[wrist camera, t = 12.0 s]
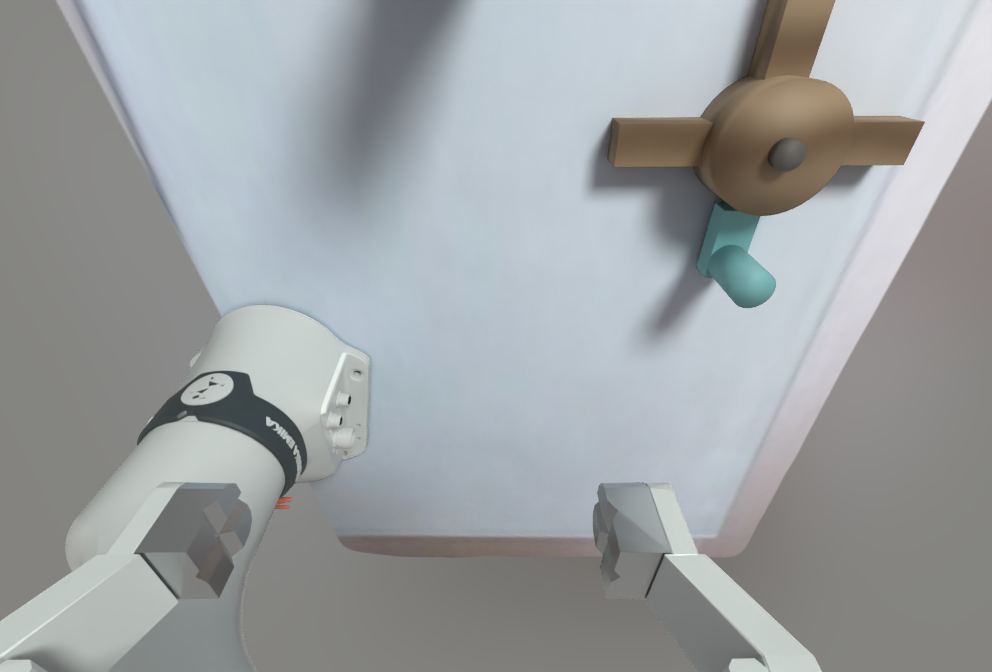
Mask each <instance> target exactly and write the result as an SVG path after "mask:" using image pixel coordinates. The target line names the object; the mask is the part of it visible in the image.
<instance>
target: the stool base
mask: <svg viewBox="0 0 992 672" xmlns="http://www.w3.org/2000/svg"><path fill="white" fill-rule="evenodd" d="M834 3H835V0H768V4H767V8H766V11H765V15H764V19H763V22H762V26H761V30H760V33H759V37H758V40H757V44H756V48H755V51H754V55H753V59H752V62H751V66H750V69H749V73H748V76H747V77H744V78H742V79H740V80H738V81H736V82H735V83H733V84H731V85H730V86H728V87H727V88H726V89H725V90H723V91H722V92H721V93H720V94H719V95H718V96H717V97H716V98H715V99H714V100H713V101H712V102H711V103H710V104H709V106H708V107H707V108H706V110H705V111H704V113H703V114H702V116H701V117H691V118H613V120H612V128H611V135H610V143H609V151H608V158H607V159H608V160H609V161H610V163H611V164H612V165H613V166H614V167H689V166H693V169H694V171H695V174H696V175H697V177H698V179H699V180H700V181H701V182H702V183H703V184H704V185H705V186H706V187H707V188H709V189H710V190H711V191H712V192H714V193H715V194H716V195H718V196H719V197H720V198H721V199H723V200H724V201H725V202H727V203H728V204H729V205H730V206H732V207H733V208H734V209H736V210H738V211H740V212H742V213H745V214H749V215H754V216H768V215H774V214H779V213H782V212H786V211H788V210H790V209H793V208H795V207H797V206H799V205H801V204H803V203H804V202H806V201H807V200H809V199H810V198H812V197H813V196H814V195H815V194H817V193H818V192H819V191H820V190H821V189H822V188H823V187H825V186H826V185H827V183H828V182H829V181H830V180H831V179H832V178H833V176H834V175H835V174H836V172H837V171H838V170H839V168H840V166H841V165H904V163H905V161H906V159H907V157H908V155H909V153H910V151H911V149H912V147H913V145H914V143H915V141H916V139H917V137H918V135H919V133H920V131H921V129H922V127H923V125H924V123H925V122H923V121H919V120H914V119H910V118H906V117H901V116H854V115H853V110H852V107H851V105H850V102H849V100H848V99H847V97H846V95H845V94H844V93H843V92H842V91H841V90H840V89H839V88H837V87H836V86H834V85H833V84H830V83H828V82H826V81H822V80H818V79H812V78H809V75H810V73H811V70H812V67H813V64H814V61H815V58H816V55H817V52H818V49H819V46H820V43H821V41H822V38H823V35H824V32H825V29H826V26H827V23H828V20H829V17H830V14H831V11H832V9H833V6H834Z"/></svg>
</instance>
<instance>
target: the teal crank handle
mask: <svg viewBox="0 0 992 672" xmlns="http://www.w3.org/2000/svg"><path fill="white" fill-rule="evenodd" d="M759 218H760V216H754V215H749V214H745V213H742V212H740V211H738V210H736V209H734V208H733V207H732V206H730V205H729V204H728V203H715V204H714V208H713V211H712V214H711V218H710V221H709V225H708V228H707V232H706V235H705V238H704V242H703V245H702V249H701V252H700V256H699V259H698V262H697V266H696V268H697V269H698V270H699V271H700V273H701V274H702V275H703V276H704V277H713V278H714V279H715V280H716V282H717V283H718V284H719V285H720V286H721V287H722V289H723V290H724V291H725V292H726V293H727V294H728V296H729V297H730V298H731V299H732V300H733V301H734V303H735V304H736V305H738V306H740V307H743V308H752V307H756V306H759V305H761V304H763V303H764V302H766V301H767V300H768V299H769V298H770V297H771V296H772V294H773V293H774V291H775V287H776V281H775V279H774V277H773V276H772V275H771V274H770V273H769V272H768V271H767V270H766V269H765V268H763V267H762V266H761V265H760V264H759V263H758V262H757V261H756V260H755V259H754V258H752V257H751V256H750V255H749V254H748V253H747V252H748V249H749V246H750V243H751V240H752V238H753V235H754V232H755V229H756V226H757V224H758V221H759Z"/></svg>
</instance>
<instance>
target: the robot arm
mask: <svg viewBox="0 0 992 672" xmlns="http://www.w3.org/2000/svg"><path fill="white" fill-rule="evenodd" d="M190 367H191V369H190V370H189V372H188V374H187V375H186V376H185V378H184V380H183V381H182V383H181V384H180V386H179V387H178V389H177V390H176V392H175V393H174V395H173V396H172V397H171V398H170V399H168V400H167V402H166V403H165V404H164V405H163V406H162V408H161V409H160V410H159V411H158V412H157V413H156V414H155V416H153V417H152V418H151V419H150V420H149V421H148V423H147V425H146V427H145V428H144V429H143V431H142V432H141V434H140V435H139V438H138V442H137V447H136V448H135V449H134V450H133V452H132V453H131V454H130V455H129V456H128V457H127V459H126V460H125V461H124V462H123V463H122V465H121V466H120V467H119V468H118V469H117V470H116V472H115V473H114V474H113V475H112V476H111V478H110V479H109V480H108V481H107V482H106V483H105V485H104V486H103V487H102V488H101V489H100V491H99V492H98V493H97V494H96V495H95V497H94V498H93V499H92V500H91V501H90V503H89V504H88V505H87V506H86V507H85V508H84V510H83V511H82V512H81V513H80V514H79V516H77V518H76V519H75V520H74V522H73V524H72V525H71V527H70V530H69V532H68V535H67V538H66V544H65V551H66V552H65V553H66V558H67V561H68V564H69V566H70V569H71V571H72V573H70V574H69V575H67V576H66V577H64V578H63V579H61V580H60V581H58V582H57V583H55V584H54V585H53V586H51V587H50V588H48V589H47V590H45V591H44V592H43V593H41V594H39V595H38V596H37V597H35V598H34V599H32V600H31V601H29V602H28V603H26V604H25V605H23V606H22V607H21V608H19V609H18V610H16V611H15V612H13V613H12V614H10V615H9V616H7V617H6V618H4V619H3V620H1V621H0V672H258V671H257V670H256V668H255V667H254V665H253V663H252V661H251V659H250V657H249V655H248V652H247V649H246V645H245V641H244V636H243V626H242V608H243V598H244V592H245V586H246V582H247V578H248V574H249V571H250V568H251V565H252V562H253V560H254V557H255V555H256V552H257V549H258V547H259V544H260V542H261V539H262V537H263V534H264V532H265V529H266V527H267V525H268V523H269V520H270V518H271V515H272V513H273V511H274V509H284V508H285V509H286V508H289V506H287V505H276V504H281V503H285V502H289V501H292V500H293V498H291V497H282V496H284V494H286V492H287V491H288V490H289V489H290V488H291V487H292V486H293V484H295V483H305V482H313V481H317V480H321V479H324V478H326V477H328V476H330V475H332V474H333V473H334V472H335V471H336V470H337V468H338V467H339V464H340V462H341V460H343V459H348V458H351V457H354V456H357V455H359V454H361V453H363V452H364V451H365V450H366V448H367V445H368V431H369V404H370V377H371V361H370V358H369V357H368V356H367V355H366V354H364V353H363V352H361V351H359V350H357V349H355V348H353V347H351V346H348V345H346V344H344V343H343V342H341V341H340V340H339V339H338V338H337V337H336V336H335V335H334V334H332V333H331V332H330V331H329V330H328V329H327V328H326V327H324V326H323V325H322V324H320V323H319V322H317V321H315V320H314V319H312V318H310V317H308V316H306V315H304V314H302V313H299V312H297V311H294V310H291V309H287V308H284V307H279V306H272V305H253V306H246V307H242V308H239V309H236V310H234V311H232V312H230V313H228V314H227V315H225V316H224V317H223V318H222V319H221V320H220V321H219V322H218V323H217V324H216V326H215V328H214V330H213V332H212V334H211V337H210V339H209V341H208V343H207V344H206V346H205V347H203V348H202V349H200V350H199V351H198V352H197V353H196V354H195V355H194V357H193V358H192V359H191V361H190ZM356 371H360V373H359V372H356ZM597 494H598V499H599V502H598V503H597V504H595V505H594V511H593V532H594V539H595V544H596V548H597V549H598V550H599V551H600V552H601V553H602V554H603V557H602V561H601V566H600V570H601V575H602V580H603V585H604V590H605V594H606V598H618V599H646V603H647V604H648V606H649V607H650V608H651V610H652V611H653V612H654V614H655V615H656V616H657V617H658V619H659V620H660V621H661V623H662V624H663V625H664V627H665V628H666V629H667V631H668V632H669V633H670V635H671V636H672V637H673V639H674V640H675V641H676V643H677V644H678V645H679V647H680V648H681V649H682V651H683V652H684V653H685V655H686V656H687V657H688V658H689V660H690V661H691V662H692V664H693V665H694V666H695V668H696V669H697V670H698V672H822V671H821V669H820V667H819V665H818V663H817V661H816V659H815V657H814V656H813V655H812V654H811V653H810V652H809V651H808V650H807V649H806V648H804V647H803V646H802V645H801V644H800V643H799V642H798V641H797V640H796V639H795V638H794V637H793V636H792V635H791V634H790V633H788V632H787V631H786V630H785V629H784V628H783V627H782V626H781V625H780V624H779V623H778V622H777V621H775V619H773V617H772V616H770V615H769V614H768V613H767V612H766V611H765V610H764V609H763V608H762V607H761V606H760V605H759V604H758V603H757V602H756V601H754V600H753V599H752V598H751V597H750V596H749V595H748V594H747V593H746V592H745V591H744V590H743V589H742V588H741V587H740V586H738V585H737V584H736V583H735V582H734V581H733V580H732V579H731V578H730V577H729V576H728V575H727V574H726V573H725V572H723V570H722V569H720V568H719V567H718V566H717V565H716V564H715V563H714V562H713V561H712V560H711V559H710V558H709V557H708V556H707V555H706V554H698V552H697V549H696V547H695V544H694V542H693V539H692V537H691V534H690V531H689V529H688V526H687V524H686V521H685V519H684V516H683V514H682V511H681V509H680V506H679V504H678V501H677V498H676V496H675V493H674V491H673V488H672V487H671V486H670V485H669V484H668V483H644V482H643V483H601V484H600V485H599V488H598V492H597Z"/></svg>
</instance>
